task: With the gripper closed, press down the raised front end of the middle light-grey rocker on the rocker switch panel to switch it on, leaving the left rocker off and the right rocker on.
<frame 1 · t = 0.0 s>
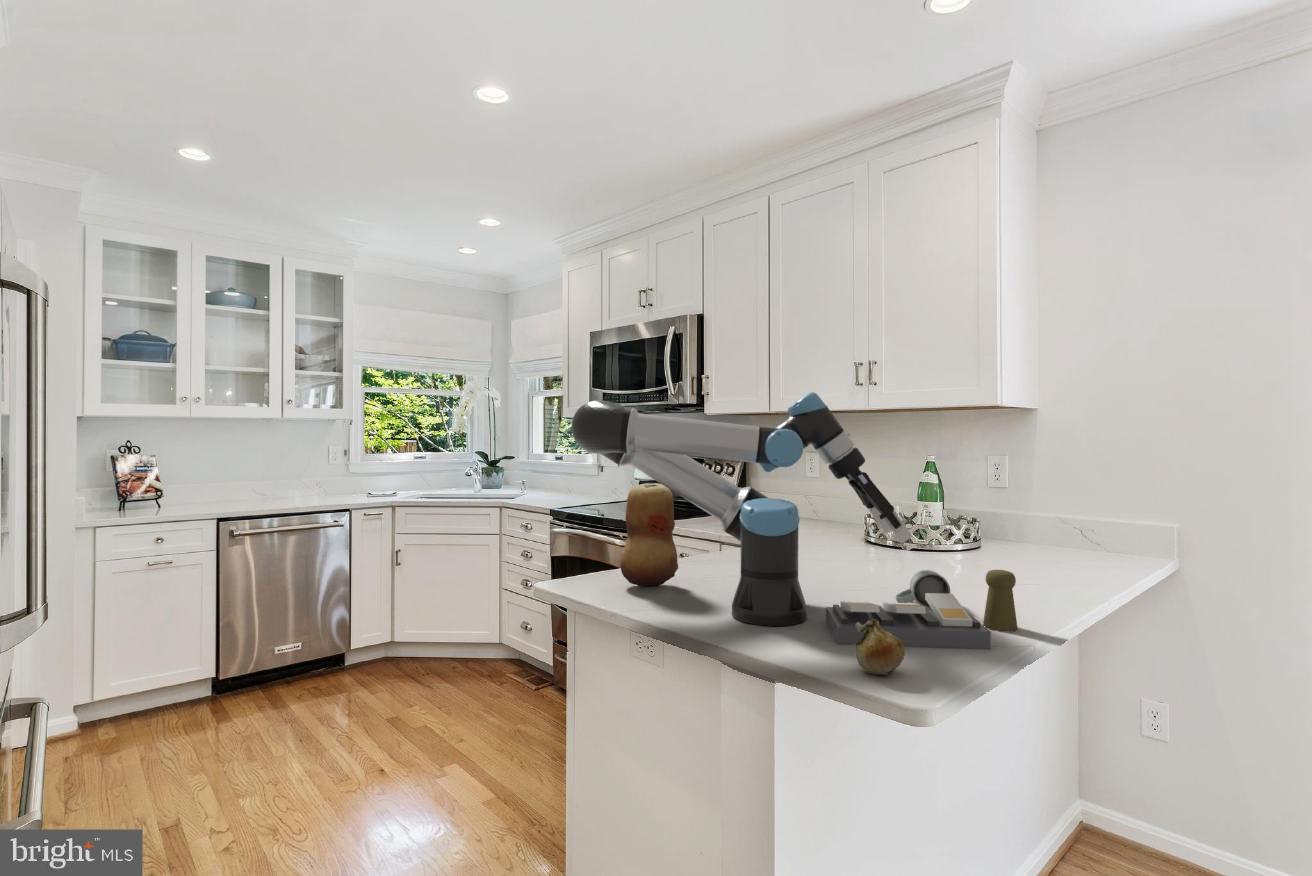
hand: (898, 534, 150), 15 cm above the counter, tool tilted 35°, fingers open, 13 cm apart
cork: (1000, 628, 132), on the counter
rocker switch panel: (903, 634, 127), on the counter
ceramic mug: (922, 606, 149), on the counter
right rocker: (947, 608, 126), point 5 cm above the counter, hinge at 11.0°
left rocker: (859, 606, 128), point 5 cm above the counter, hinge at -11.0°
onion: (878, 674, 107), on the counter
butternut squash: (649, 588, 165), on the counter, touching arm
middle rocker: (903, 607, 127), point 5 cm above the counter, hinge at -11.0°
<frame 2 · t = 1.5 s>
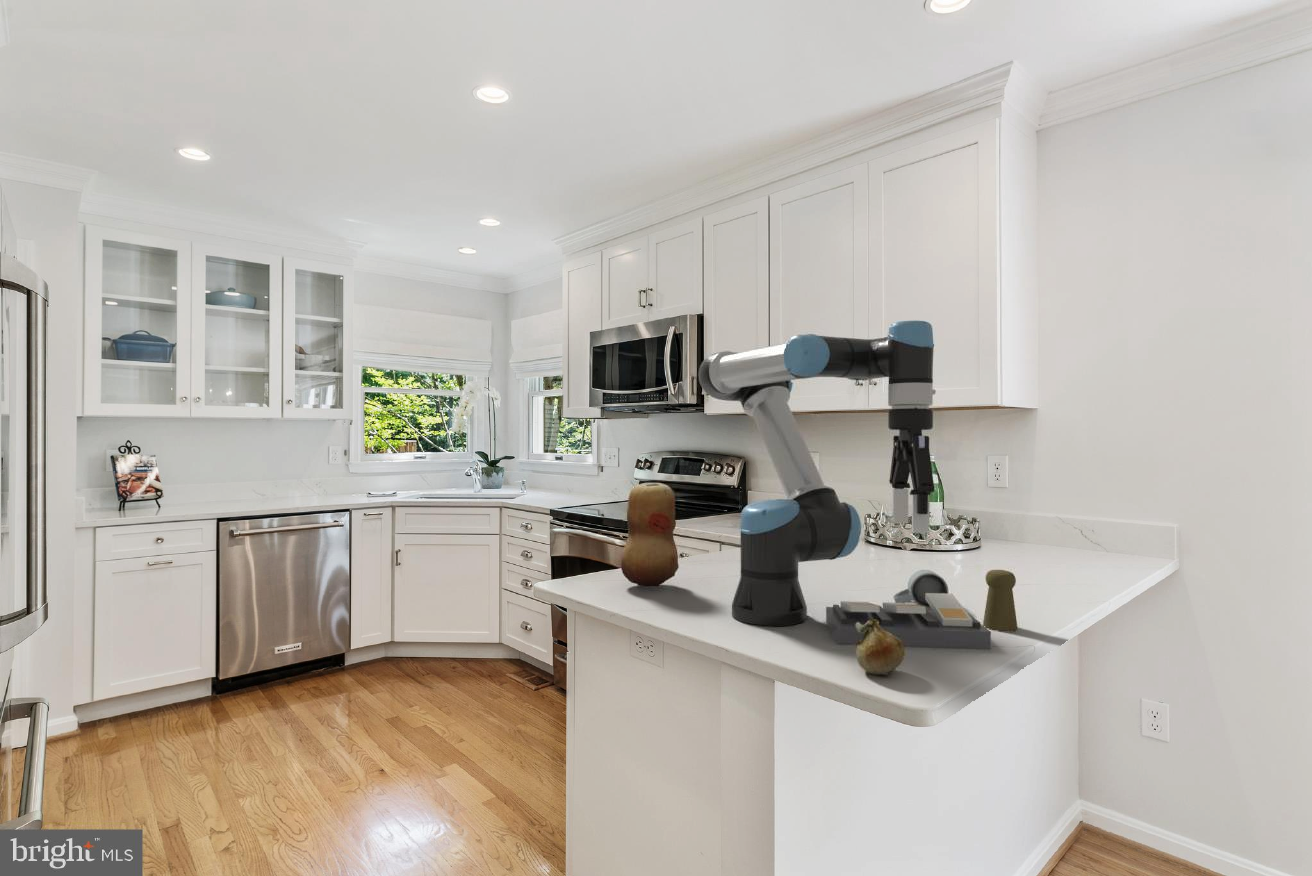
hand: (909, 527, 123), 20 cm above the counter, tool pointing down, fingers open, 12 cm apart
butternut squash: (649, 587, 165), on the counter
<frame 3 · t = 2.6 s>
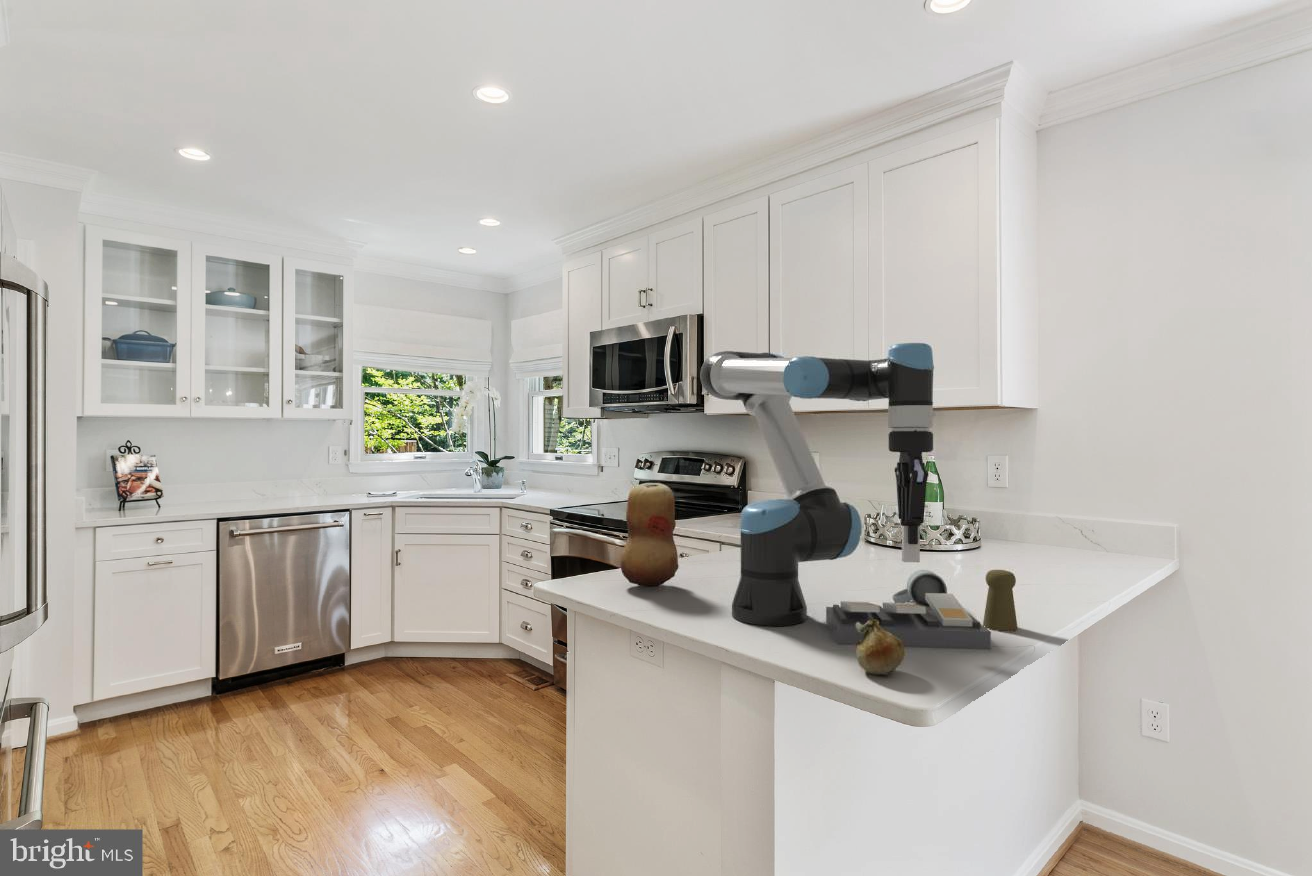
hand: (910, 561, 123), 14 cm above the counter, tool pointing down, fingers closed
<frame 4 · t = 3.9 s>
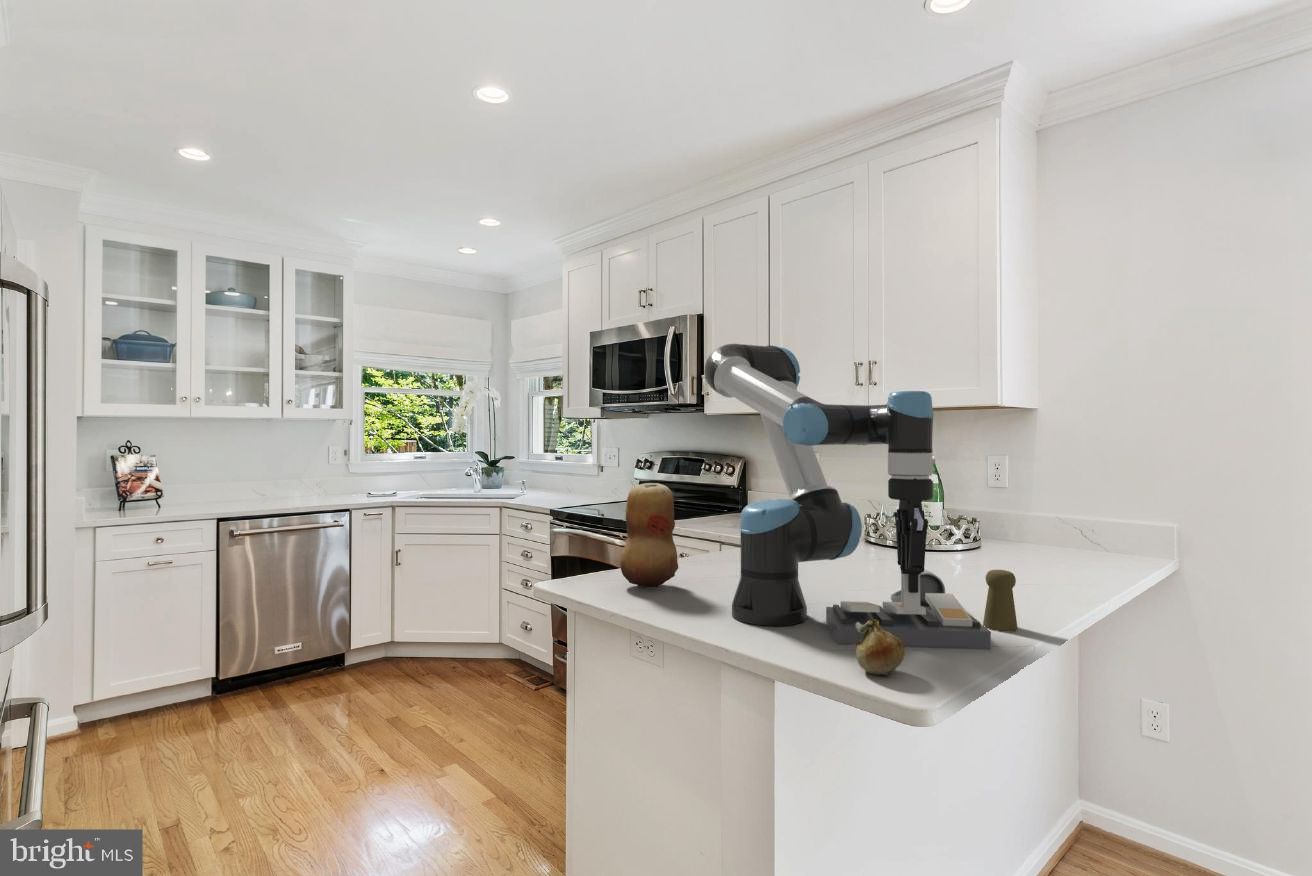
hand: (910, 609, 122), 6 cm above the counter, tool pointing down, fingers closed, pressing on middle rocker
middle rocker: (903, 607, 127), point 5 cm above the counter, hinge at -9.3°, touching gripper
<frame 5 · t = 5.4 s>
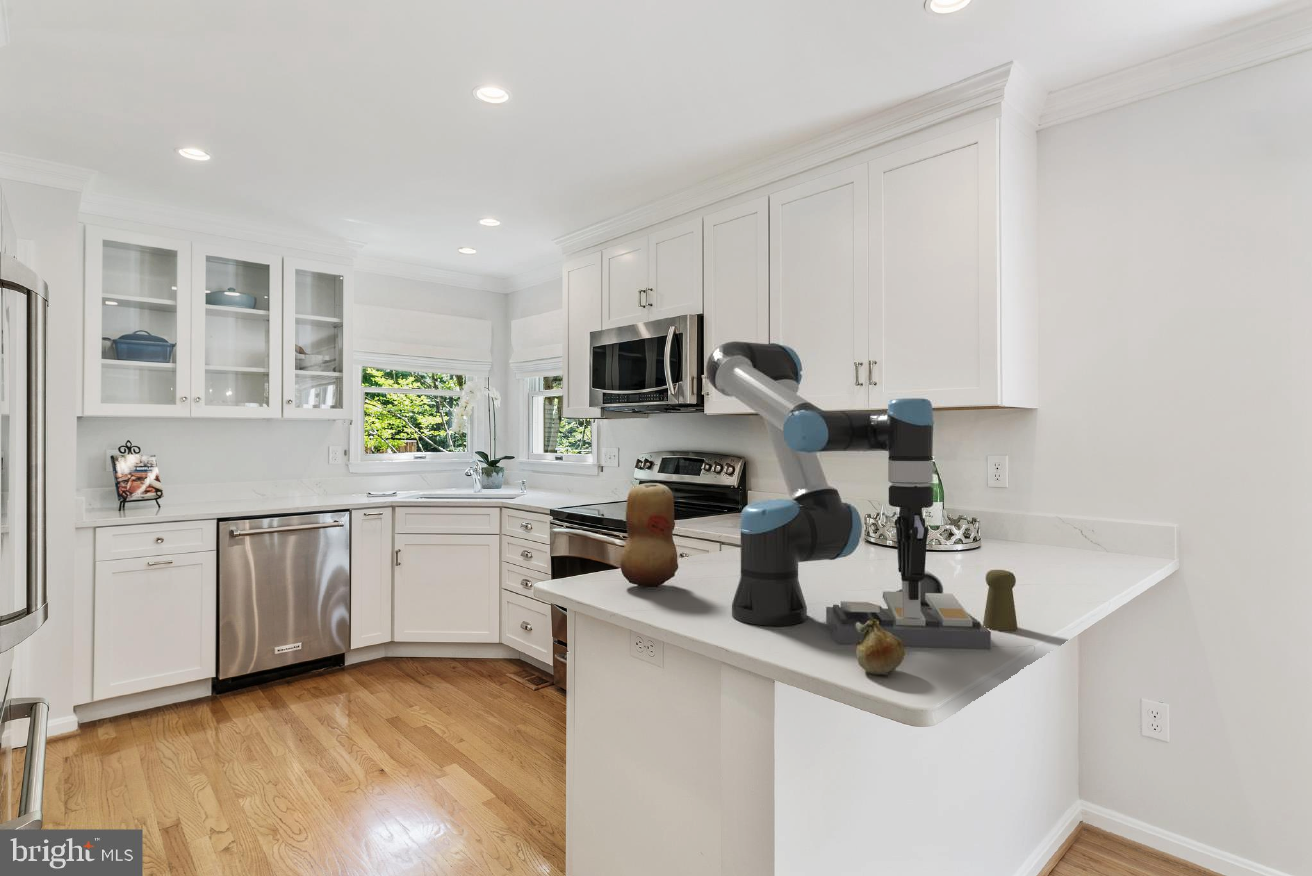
hand: (911, 616, 122), 5 cm above the counter, tool pointing down, fingers closed, pressing on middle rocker
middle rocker: (903, 607, 127), point 5 cm above the counter, hinge at 12.4°, touching gripper
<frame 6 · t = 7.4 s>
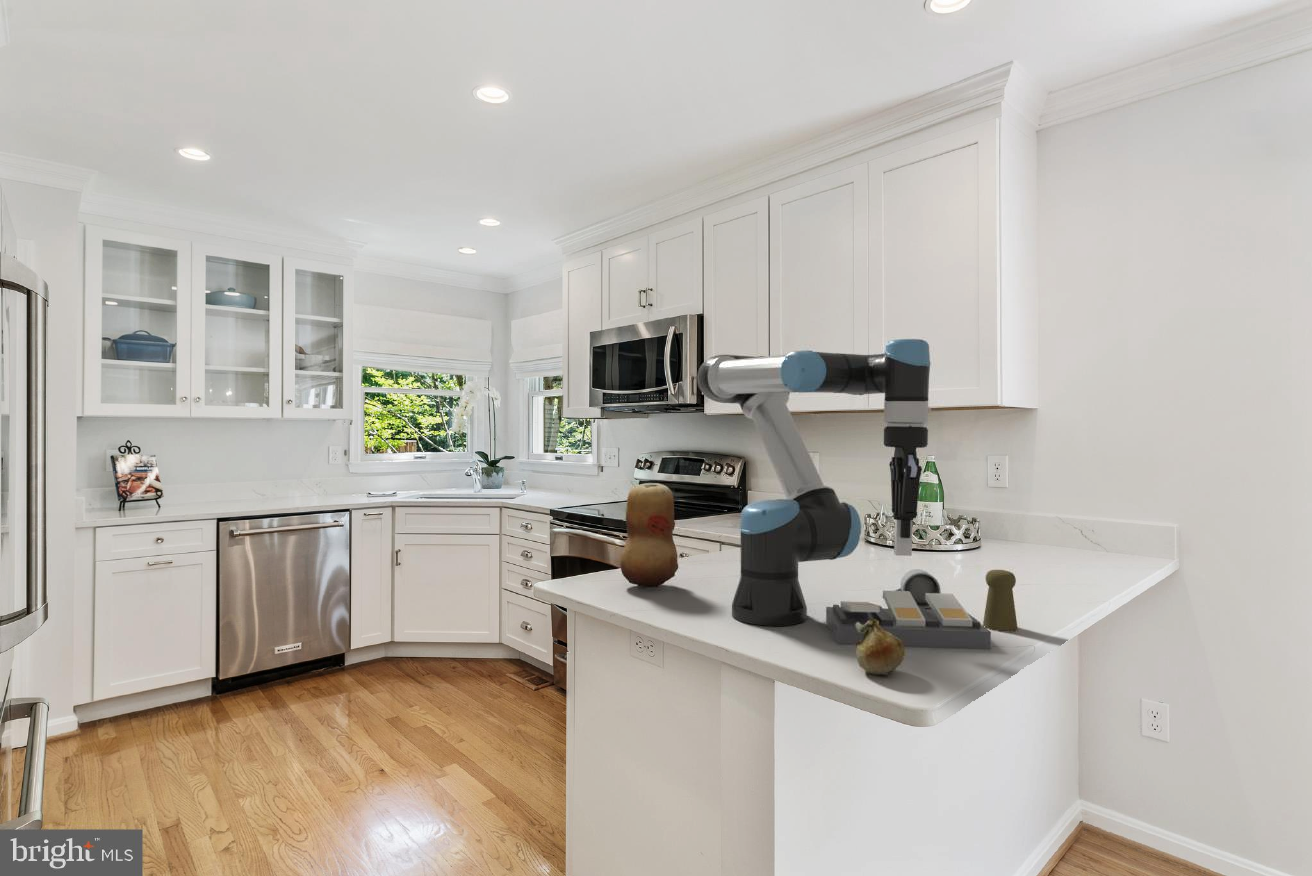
hand: (902, 554, 124), 15 cm above the counter, tool pointing down, fingers closed
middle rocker: (903, 607, 127), point 5 cm above the counter, hinge at 14.3°
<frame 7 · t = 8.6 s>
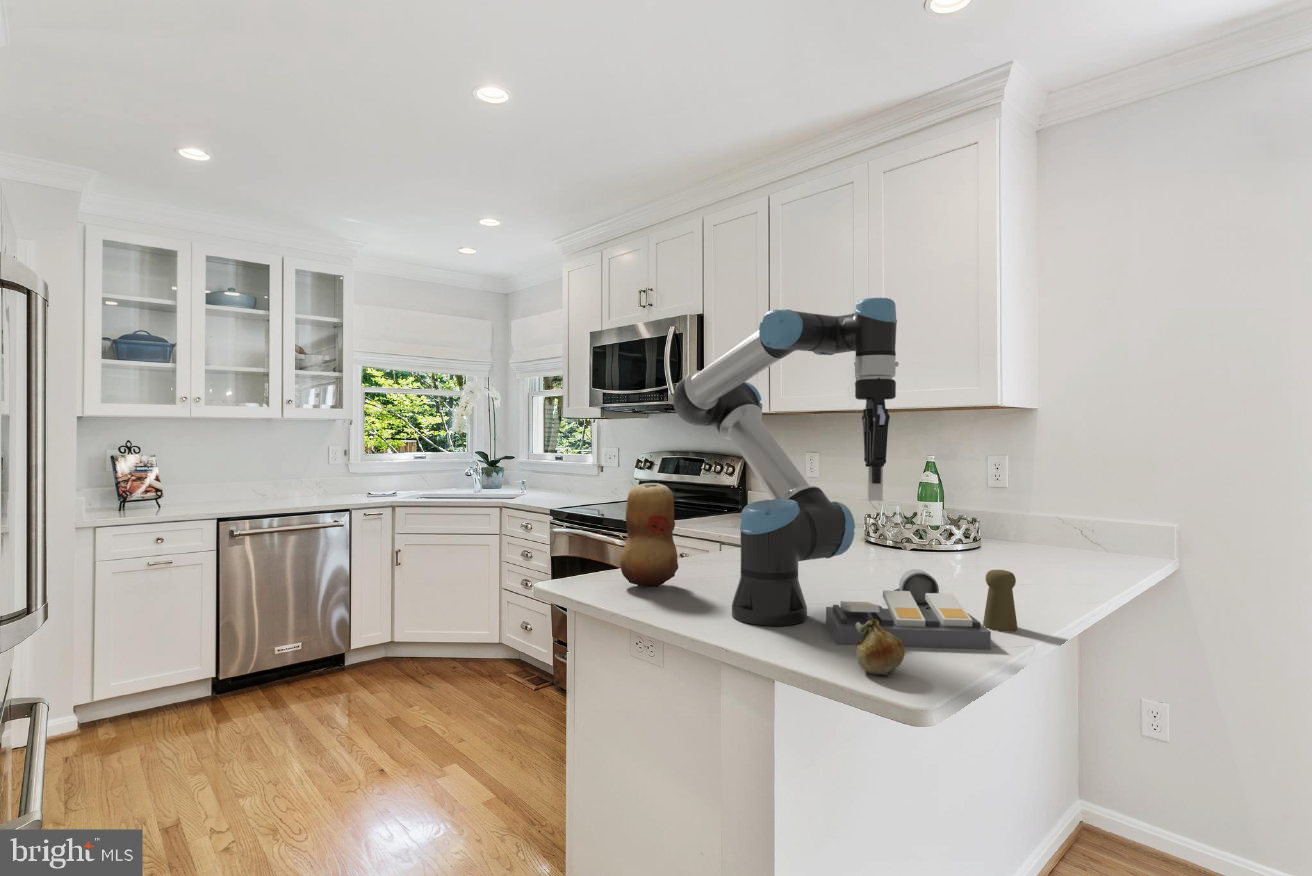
hand: (874, 500, 133), 24 cm above the counter, tool pointing down, fingers closed
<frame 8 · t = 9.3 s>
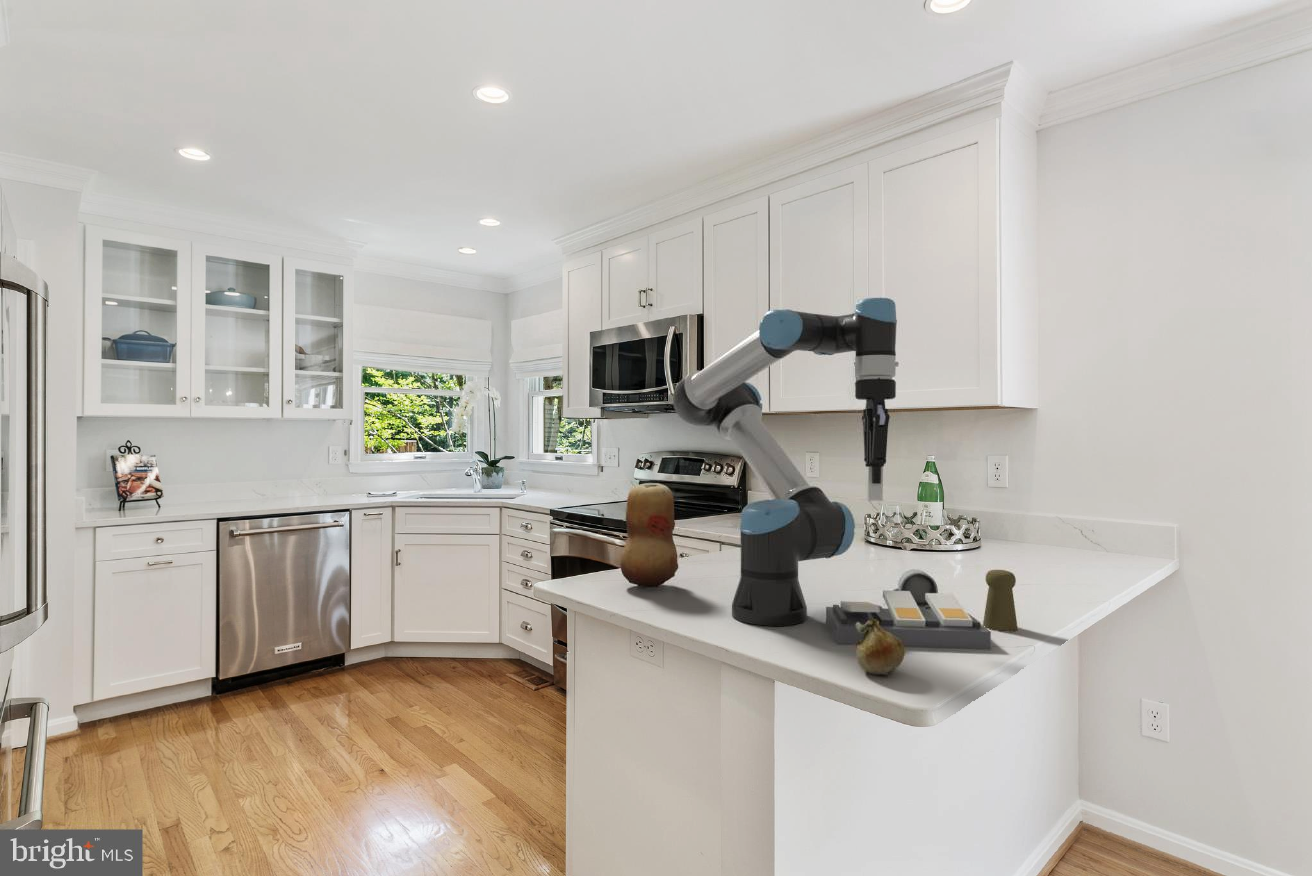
hand: (874, 500, 133), 24 cm above the counter, tool pointing down, fingers closed
at the end: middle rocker at +15° (first picture: -11°); left rocker at -11° (first picture: -11°); right rocker at +11° (first picture: +11°) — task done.
